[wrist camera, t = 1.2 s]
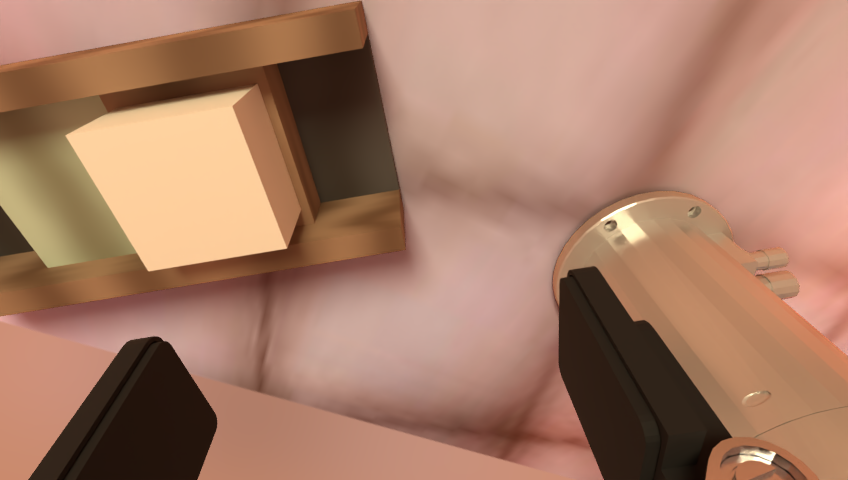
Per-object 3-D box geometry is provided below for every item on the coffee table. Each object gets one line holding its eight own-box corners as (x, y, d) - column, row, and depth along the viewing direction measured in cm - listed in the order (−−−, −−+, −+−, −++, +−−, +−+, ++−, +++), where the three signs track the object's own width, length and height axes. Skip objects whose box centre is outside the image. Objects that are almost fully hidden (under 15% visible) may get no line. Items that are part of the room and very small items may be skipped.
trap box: (361, 0, 22) (354, 9, 18) (403, 207, 29) (405, 249, 24) (-166, 95, 23) (-291, 125, 19) (-11, 276, 29) (-78, 328, 25)
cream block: (257, 83, 21) (232, 106, 18) (301, 209, 25) (287, 248, 22) (116, 108, 21) (65, 135, 18) (180, 229, 25) (148, 271, 22)
